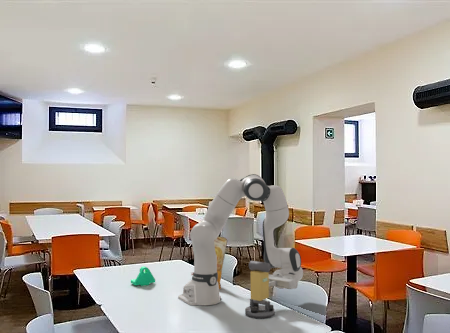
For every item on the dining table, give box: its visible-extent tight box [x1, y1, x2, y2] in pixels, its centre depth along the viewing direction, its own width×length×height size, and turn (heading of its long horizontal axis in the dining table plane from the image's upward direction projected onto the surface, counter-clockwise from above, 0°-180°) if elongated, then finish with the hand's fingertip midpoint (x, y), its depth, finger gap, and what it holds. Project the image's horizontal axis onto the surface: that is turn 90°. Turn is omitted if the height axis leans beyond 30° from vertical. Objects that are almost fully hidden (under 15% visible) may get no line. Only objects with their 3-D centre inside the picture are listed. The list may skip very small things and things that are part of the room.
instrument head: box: [248, 260, 272, 306], centre depth 189 cm, size 9×7×18 cm
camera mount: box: [130, 265, 156, 287], centre depth 243 cm, size 12×8×10 cm, turn 125°
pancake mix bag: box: [214, 235, 228, 290], centre depth 238 cm, size 7×19×28 cm, turn 34°
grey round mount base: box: [244, 298, 276, 320], centre depth 189 cm, size 13×13×6 cm
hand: (265, 284), depth 193 cm, fingers closed
